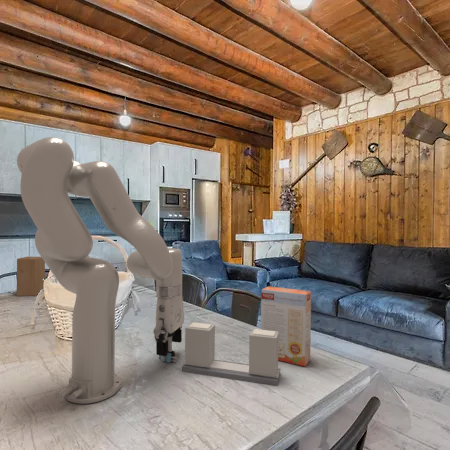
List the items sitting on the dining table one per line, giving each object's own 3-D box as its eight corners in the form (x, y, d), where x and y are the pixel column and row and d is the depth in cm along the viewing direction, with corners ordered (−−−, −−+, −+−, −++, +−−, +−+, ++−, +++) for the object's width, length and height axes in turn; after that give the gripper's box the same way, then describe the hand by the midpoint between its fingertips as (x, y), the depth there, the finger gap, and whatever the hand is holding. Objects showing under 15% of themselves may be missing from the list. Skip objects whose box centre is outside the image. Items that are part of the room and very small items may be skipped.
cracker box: (310, 360, 94) (312, 290, 94) (305, 367, 89) (306, 294, 89) (267, 349, 101) (268, 285, 101) (259, 356, 96) (260, 288, 96)
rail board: (277, 385, 79) (278, 338, 79) (181, 371, 86) (182, 327, 86) (280, 373, 86) (280, 329, 86) (191, 360, 93) (191, 320, 93)
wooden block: (16, 296, 166) (16, 258, 166) (26, 292, 176) (26, 256, 176) (36, 296, 167) (36, 258, 167) (45, 292, 177) (45, 256, 177)
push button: (182, 360, 93) (182, 326, 92) (169, 366, 88) (169, 331, 88) (167, 354, 97) (167, 322, 97) (153, 360, 92) (153, 326, 92)
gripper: (167, 299, 83) (168, 362, 84) (192, 285, 100) (192, 338, 100) (142, 297, 85) (143, 359, 86) (170, 283, 102) (170, 336, 102)
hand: (169, 348), depth 93 cm, fingers open, 9 cm apart
